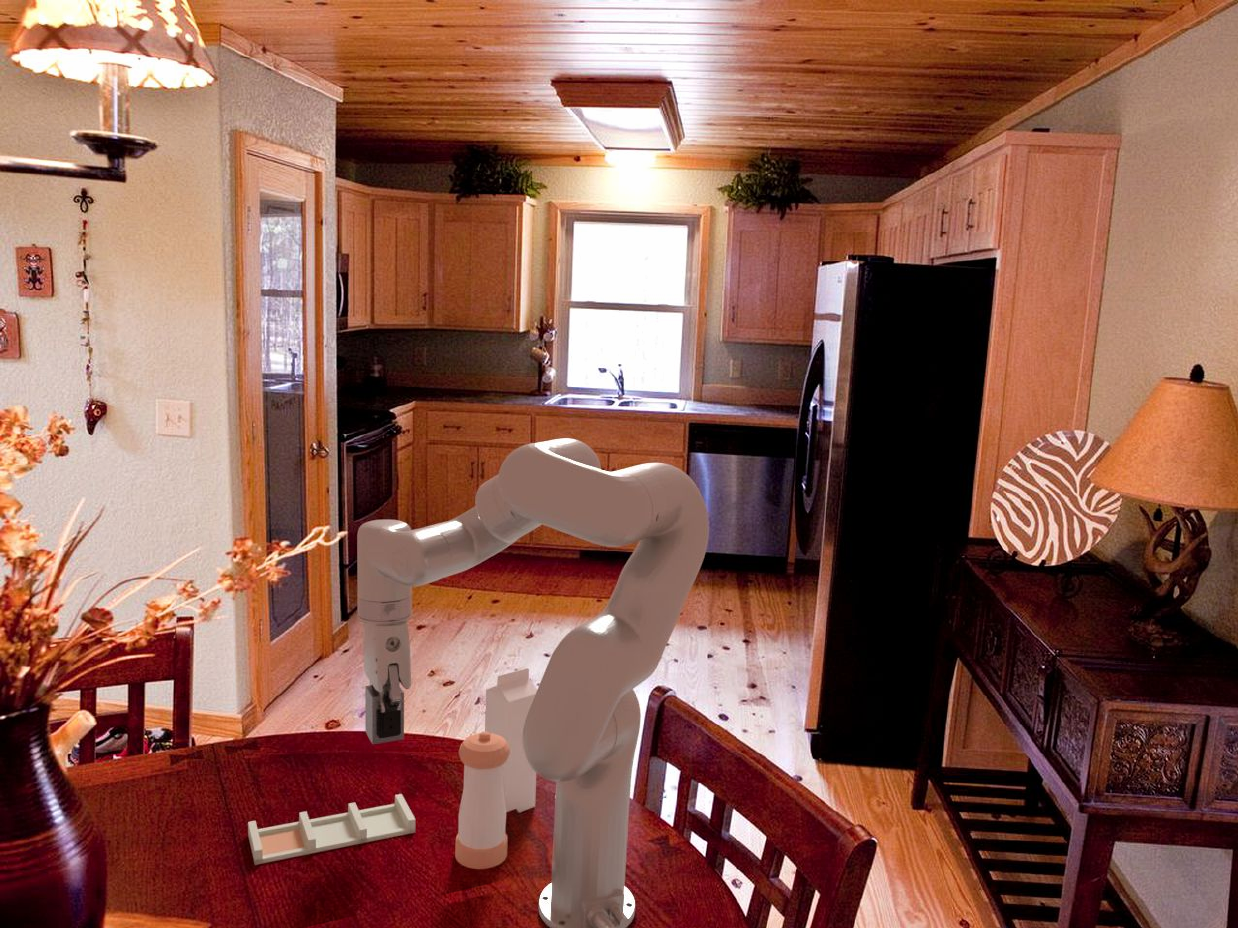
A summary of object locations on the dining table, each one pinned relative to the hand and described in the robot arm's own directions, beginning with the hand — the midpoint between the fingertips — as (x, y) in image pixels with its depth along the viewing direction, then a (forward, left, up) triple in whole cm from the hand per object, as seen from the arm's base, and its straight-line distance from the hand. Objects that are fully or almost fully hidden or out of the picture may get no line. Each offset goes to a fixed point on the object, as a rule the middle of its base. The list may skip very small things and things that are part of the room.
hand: (384, 727), depth 138 cm
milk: (0, -20, -16) cm, 26 cm away
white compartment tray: (0, +7, -16) cm, 18 cm away
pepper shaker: (-13, -11, -16) cm, 23 cm away
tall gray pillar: (0, 0, -1) cm, 1 cm away
